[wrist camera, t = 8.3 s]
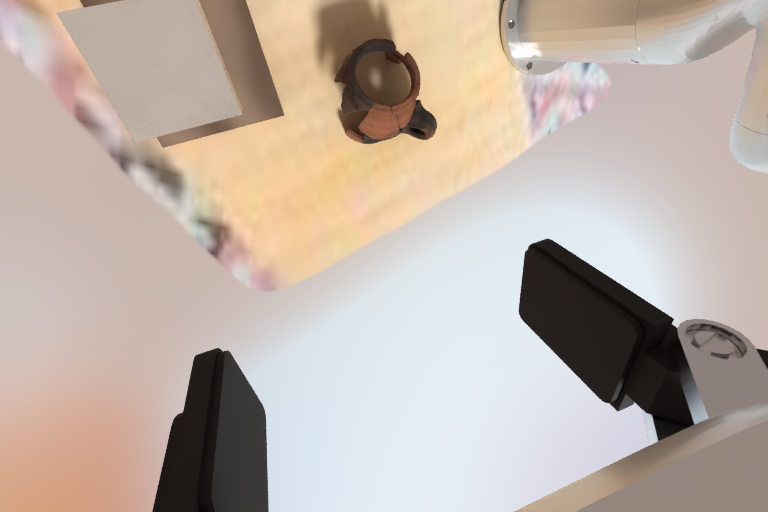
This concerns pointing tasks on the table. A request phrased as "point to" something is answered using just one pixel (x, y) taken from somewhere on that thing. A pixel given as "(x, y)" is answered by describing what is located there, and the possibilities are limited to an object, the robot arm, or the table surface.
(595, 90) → the table surface
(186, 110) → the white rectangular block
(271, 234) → the table surface
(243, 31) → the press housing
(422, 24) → the table surface
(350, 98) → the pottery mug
